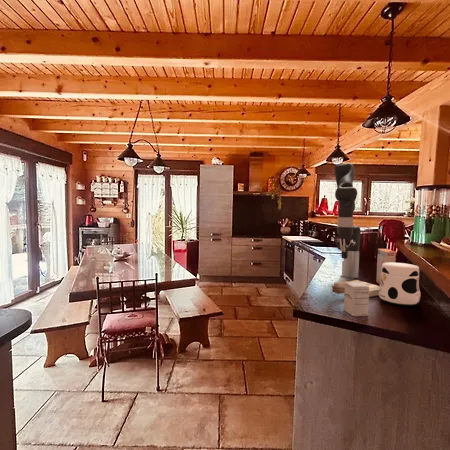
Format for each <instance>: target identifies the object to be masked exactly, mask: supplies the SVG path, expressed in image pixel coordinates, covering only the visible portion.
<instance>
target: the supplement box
mask: <svg viewBox="0 0 450 450" xmlns="http://www.w3.org/2000/svg"><path fill="white" fill-rule="evenodd" d="M344 282H345V293H343V294H344V298H343V300H344V301H343V311H345V312H347V313H348V314H349V315H350V316H352V317H361V316H362V317H364V316H365V317H366V316H369V304H370V303H369V300H370V297H369V286H367V285H365V284H363V283H361V282H346V281H344Z"/></svg>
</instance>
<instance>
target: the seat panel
mask: <svg viewBox="0 0 450 450" xmlns="http://www.w3.org/2000/svg"><path fill="white" fill-rule="evenodd" d="M345 282H361V283H363V284H365V285H367V286H369V298H370V297H376V296H379V286H380V285H377V284H373V283H369V282H365V281H361V280H358V279H354V280H348V281H339V282H334V283H333V286H336V285H344V284H345Z"/></svg>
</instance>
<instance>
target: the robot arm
mask: <svg viewBox="0 0 450 450" xmlns="http://www.w3.org/2000/svg"><path fill="white" fill-rule="evenodd" d="M355 174H356V173H355V165H354V164H353V163H351V162H348V163H347V162H346V163H341V164H336V165H335V166H334V177H335V184H336V189H335V192H334V196H335V197H334V198H335V199H336V200H337V201H338V213H337V214H338V215H337V216H338V217H337V231H336V232H337V233H336V234H337V239H334V240H333V241H334V243H335V245H336V247H337V249H338V250H339V251H341V252H340V253H341V255H340V256H341V258H342V261H341V262H342V263H341V264H342V265H341V276H343V277H345V278H359V266H360V265H359V264H360V263H359V262H360V244H361V233H362V231H361V228H360V226H358V225H354V212H355V209H356V199H357V196H358V190H357V188H355V187H354V179H355Z"/></svg>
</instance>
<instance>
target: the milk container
mask: <svg viewBox="0 0 450 450" xmlns="http://www.w3.org/2000/svg"><path fill="white" fill-rule="evenodd" d="M378 286H379V295H378V296H379V298H380V300H382V301H384V302H385V303H388V304H391V305H396V306H405V307H410V306H415V305H418V304H419V303H420V300H421V296H422V295H421V294H422V293H421V290H420V267H419V266H418V265H415V264H410V263H405V262H395V263H383V264H382V272H381V283H380V285H378Z"/></svg>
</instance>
